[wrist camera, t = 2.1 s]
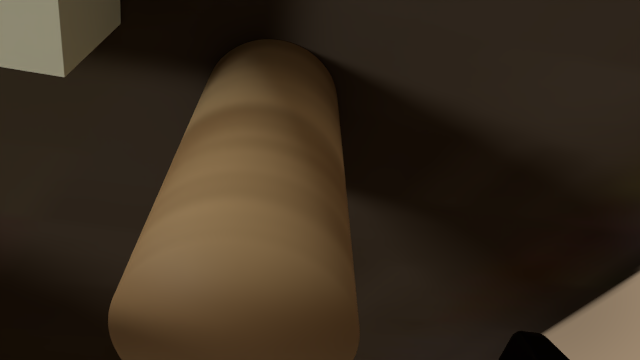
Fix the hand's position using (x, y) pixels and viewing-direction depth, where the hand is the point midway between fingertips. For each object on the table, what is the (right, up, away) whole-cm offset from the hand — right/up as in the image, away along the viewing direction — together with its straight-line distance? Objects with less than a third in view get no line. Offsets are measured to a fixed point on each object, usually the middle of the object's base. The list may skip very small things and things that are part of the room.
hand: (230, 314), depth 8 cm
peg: (0, +4, +6) cm, 8 cm away
